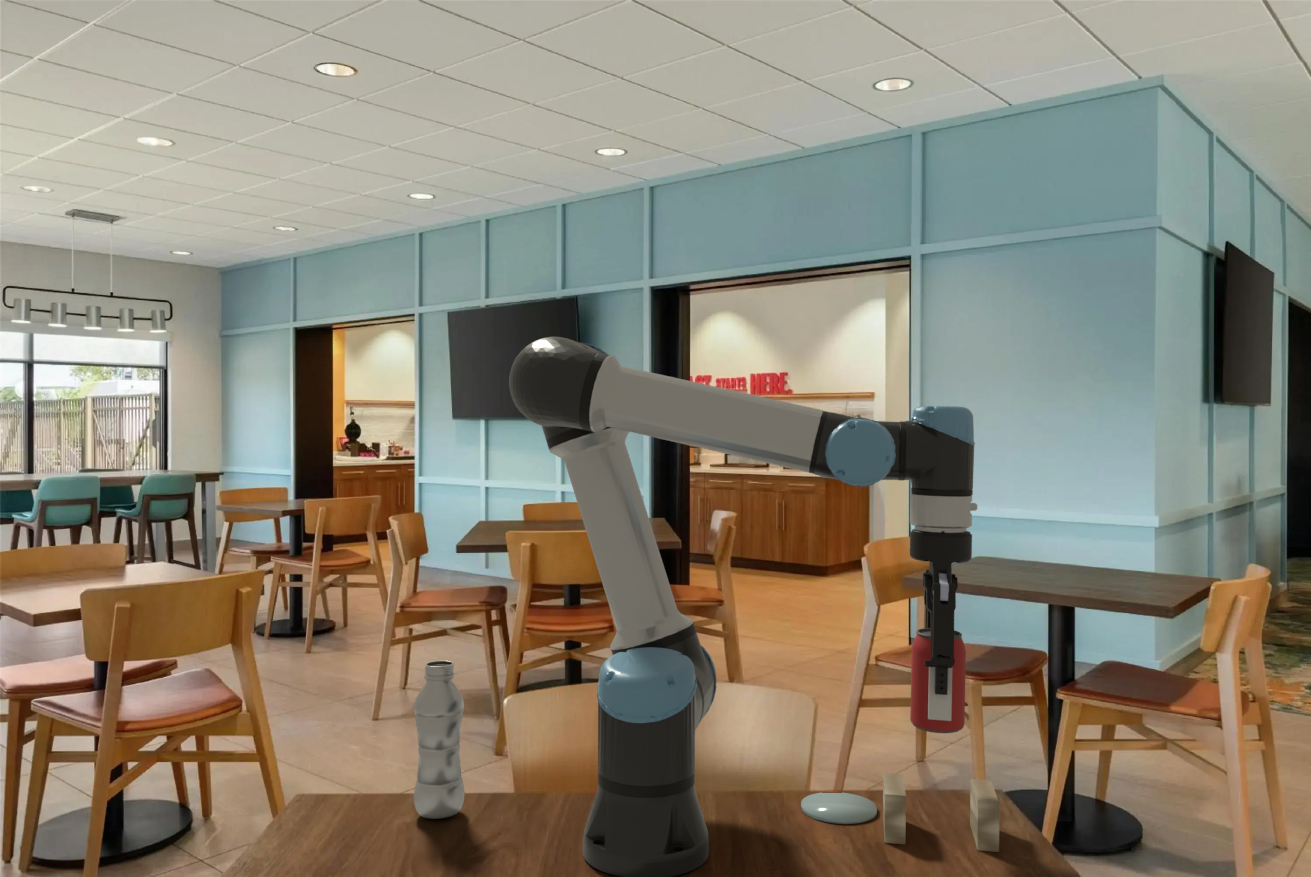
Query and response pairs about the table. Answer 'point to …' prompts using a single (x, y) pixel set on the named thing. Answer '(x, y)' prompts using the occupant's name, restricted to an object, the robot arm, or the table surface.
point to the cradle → (981, 812)
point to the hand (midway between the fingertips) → (937, 711)
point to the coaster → (839, 808)
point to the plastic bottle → (439, 743)
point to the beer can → (921, 685)
